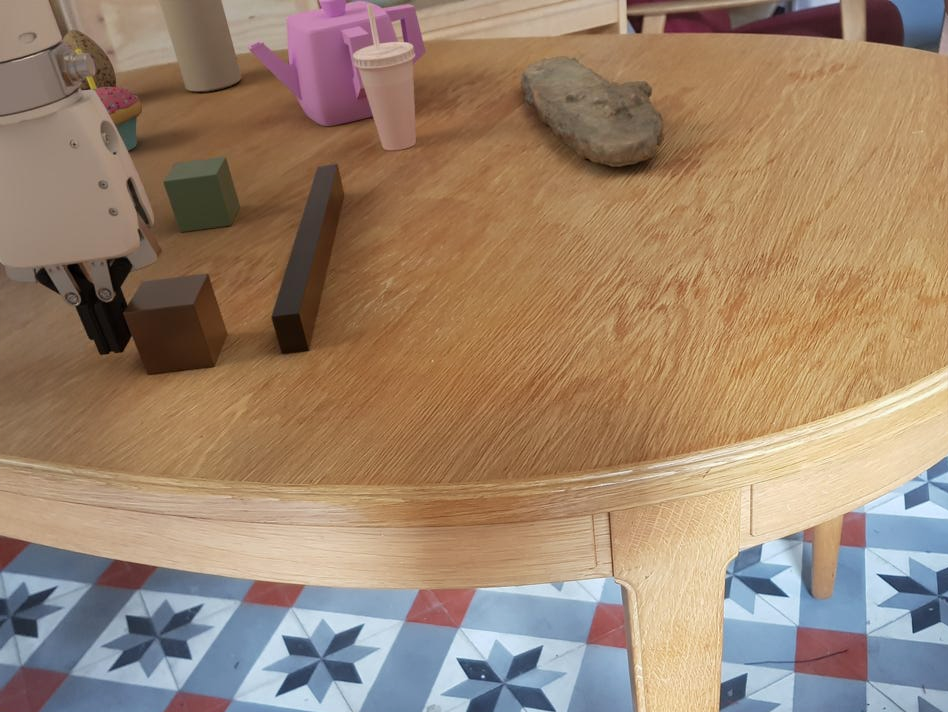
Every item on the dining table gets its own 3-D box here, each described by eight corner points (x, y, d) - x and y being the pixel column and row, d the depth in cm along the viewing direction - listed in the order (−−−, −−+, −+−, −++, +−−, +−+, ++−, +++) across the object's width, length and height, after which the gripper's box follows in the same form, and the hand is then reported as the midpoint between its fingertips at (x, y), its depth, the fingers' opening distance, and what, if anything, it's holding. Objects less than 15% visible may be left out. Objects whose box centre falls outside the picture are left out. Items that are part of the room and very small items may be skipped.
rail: (281, 354, 68) (270, 316, 66) (324, 196, 93) (317, 166, 91) (309, 350, 68) (299, 313, 66) (344, 194, 93) (337, 163, 91)
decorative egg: (83, 102, 136) (55, 27, 130) (131, 96, 135) (105, 20, 129) (65, 117, 130) (36, 40, 124) (115, 111, 130) (88, 33, 124)
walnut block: (146, 375, 68) (122, 313, 65) (163, 341, 72) (141, 281, 69) (214, 366, 68) (193, 304, 65) (227, 333, 72) (208, 272, 69)
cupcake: (71, 154, 116) (31, 49, 108) (135, 132, 120) (100, 30, 112) (100, 166, 110) (60, 57, 103) (166, 143, 114) (131, 37, 107)
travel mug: (190, 97, 130) (146, -50, 120) (183, 85, 137) (140, -56, 126) (246, 84, 132) (208, -62, 121) (237, 73, 138) (199, -67, 128)
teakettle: (383, 128, 108) (361, 10, 101) (259, 128, 114) (230, 17, 107) (443, 83, 120) (428, -25, 113) (328, 85, 126) (307, -17, 119)
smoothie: (363, 143, 105) (336, 5, 96) (418, 130, 106) (396, -7, 98) (379, 159, 100) (352, 15, 91) (436, 145, 101) (415, 2, 93)
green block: (179, 232, 90) (162, 181, 87) (190, 212, 94) (174, 163, 91) (231, 226, 90) (215, 174, 87) (240, 206, 94) (225, 156, 91)
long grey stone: (585, 85, 116) (507, 105, 115) (579, 39, 113) (499, 59, 112) (691, 157, 87) (588, 183, 87) (688, 98, 84) (580, 124, 84)
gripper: (145, 52, 61) (226, 308, 72) (-77, 84, 62) (37, 332, 73) (112, 84, 55) (206, 358, 66) (-134, 118, 56) (-1, 383, 67)
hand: (117, 344), depth 69 cm, fingers closed
